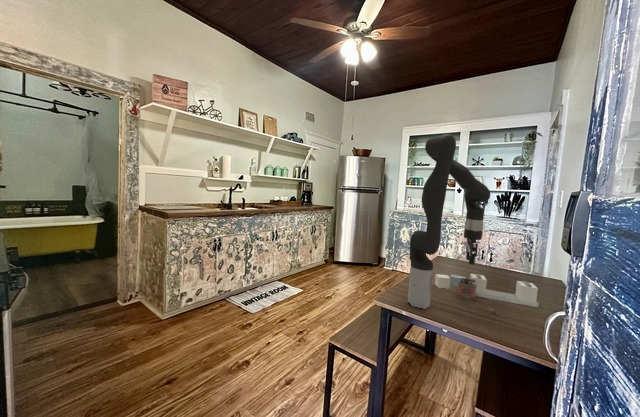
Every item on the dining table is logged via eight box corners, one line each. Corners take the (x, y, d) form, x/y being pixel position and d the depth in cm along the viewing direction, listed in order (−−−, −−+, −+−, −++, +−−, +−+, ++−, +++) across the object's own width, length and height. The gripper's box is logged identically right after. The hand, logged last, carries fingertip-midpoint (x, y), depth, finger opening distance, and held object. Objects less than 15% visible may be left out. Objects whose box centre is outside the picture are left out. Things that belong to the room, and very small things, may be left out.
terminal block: (464, 288, 136) (465, 279, 135) (449, 285, 139) (450, 276, 139) (464, 286, 139) (465, 277, 138) (450, 282, 143) (451, 274, 142)
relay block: (449, 289, 133) (450, 278, 132) (437, 288, 134) (438, 277, 133) (446, 285, 138) (447, 275, 137) (434, 284, 139) (435, 274, 138)
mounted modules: (535, 303, 116) (538, 287, 116) (471, 291, 126) (472, 276, 126) (530, 297, 123) (532, 282, 122) (469, 286, 133) (470, 272, 132)
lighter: (456, 297, 123) (458, 277, 122) (456, 294, 126) (458, 275, 125) (475, 301, 119) (477, 281, 118) (474, 298, 122) (477, 279, 121)
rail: (538, 307, 116) (538, 303, 116) (468, 294, 127) (469, 290, 127) (532, 301, 123) (532, 297, 122) (466, 289, 133) (467, 286, 133)
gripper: (462, 226, 128) (459, 257, 129) (466, 230, 115) (463, 264, 116) (479, 227, 125) (476, 259, 126) (486, 231, 112) (482, 267, 113)
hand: (469, 261), depth 121 cm, fingers open, 8 cm apart
